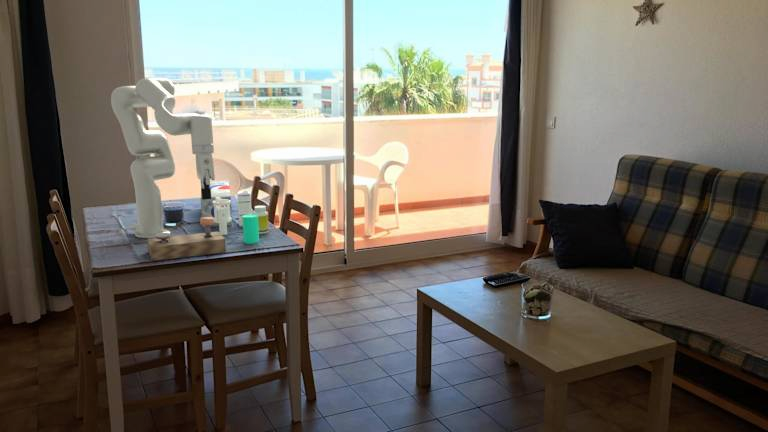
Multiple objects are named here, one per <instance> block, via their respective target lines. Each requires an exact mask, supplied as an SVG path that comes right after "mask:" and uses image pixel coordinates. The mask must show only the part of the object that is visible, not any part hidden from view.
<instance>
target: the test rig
mask: <svg viewBox="0 0 768 432" xmlns="http://www.w3.org/2000/svg"><path fill="white" fill-rule="evenodd" d="M210 233H211V237H209V238H206V233H205V232H201V233H192V234H191V233H190V234H182V235H172V236H171V237H170V238H168V239H166V242H163V243H161V239H157V238H146V240H147V249H148V250H147V251H148V254H150V255H149V256H151V257H150V259H151V261H152V262H153V260H154V261H160V260H169V259H177V258H185V257H194V256H205V255H211V254H218V253H226V252H227V246H226V238H225V237H224V235H221V234H220V231H210Z"/></svg>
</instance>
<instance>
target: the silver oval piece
mask: <svg viewBox="0 0 768 432" xmlns="http://www.w3.org/2000/svg"><path fill="white" fill-rule="evenodd" d="M170 237H171V230H168V229H166V230H163V231H157V232H156V238H157V239H161V243H163V242H166V239H168V238H170Z"/></svg>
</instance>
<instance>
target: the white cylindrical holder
mask: <svg viewBox="0 0 768 432" xmlns="http://www.w3.org/2000/svg"><path fill="white" fill-rule="evenodd" d="M219 202H224V203H219ZM230 204H231V205H232V199H231V200H227V199H222V198H219V197H216V198H215V200H214V201H213V205H214V216H215V218H214V222H215V223H219V227H218V228H219V229H218V230H219V233H220V234H221V235H222V236H226V235H228V226H227V222H231V221H232V222H233V219H232V218H233V217H232V218H231V217H230ZM222 205H227V207H226V206H224V207H222Z"/></svg>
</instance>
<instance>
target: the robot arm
mask: <svg viewBox="0 0 768 432" xmlns="http://www.w3.org/2000/svg"><path fill="white" fill-rule="evenodd" d="M175 91H176V90H175V86H174V84H173V82H172V81H171V80H170V79H168V78H165V77H145V78H141V79H139V80H138V81H137V82H136V84H135V85H124V86H118V87H117V88H115V89H113V91H112V93H111V96H110V104H111V108H112V111H113V113H114V115H115V116H116V117H115V118H116V119H117V121H118V122H119V124H120V129H121V132H122V134H123V138H124V140H125V144H126V146H127V147H126V148H127V149H128V151H129V153H130V154H131V155H133V156H145V155H154V156H147V157H140V158H136V159H134V161H132V163H131V165H130V167H129V168H130V175H131V178H132V180H133V181H132V182H133V186H134V191H135V192H134V193H135V202H136V203H135V204H136V213H137V214H136V215H137V223H131V225H130V229H131V230H135V232H134V236H135V237H136V238H139V239H152V238H156V232H157V231H163V230H167V228H164V221H163V207H162V197H161V196H162V195H161V190H160V188H159V186H158V185H157V184H156V182H155V181H159V180H166V179H170V178H172V177H173V176H174V174H175V172H176V164H175V161H174V157H173V153H172V151H171V147H170V144H169V142H168V139H167V138H168V137H166V135H165V134H164V132H165V133H167V134H168V135H170V136H185V135H186V136H187V135H190V138H191V139H190V140H191V153H192V155H195V167H196V177H197V179H198V180H200V197H201V196H202V199H203V200H205V199H211V188H210V181H216V180H215V179H216V177H215V176H216V175H215V166H214V159H213V154H214V153H215V149H214V137H213V136H214V135H213V124H212V123H213V121H212V117H211V116H210V115H209V114H199V113H179V114H177V113H175V114H172V113H171V112H172V111H173V110H174V108H175V107H176V99H175V97H174V95H175V93H176V92H175ZM149 107H150V108H152V110H154V115H153V116H154V118H155V119H154V120H155V122H156V124H157V125H158V126H159V128H161V129H162V130H163V131H164V132H162V131H160V130H157V129H152V130H151V129H150V130H147V128H146V127H145V123H144V120H143V118H142V116H140V114H138V113H137V111H135V110H134V109H133V108H149Z"/></svg>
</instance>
